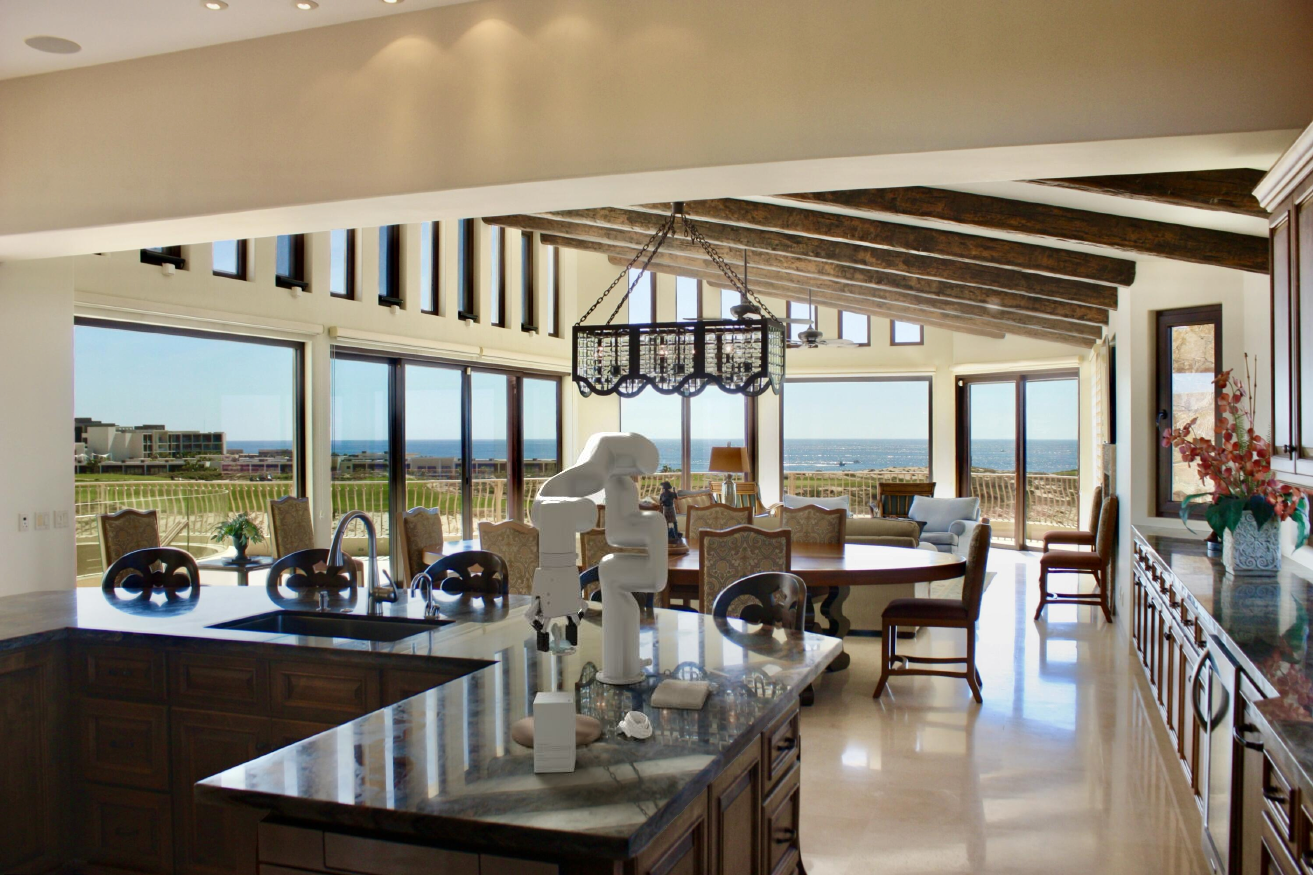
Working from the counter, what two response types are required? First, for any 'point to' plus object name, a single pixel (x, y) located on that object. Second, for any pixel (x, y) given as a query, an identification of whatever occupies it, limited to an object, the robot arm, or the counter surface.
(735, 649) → the counter surface
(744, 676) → the counter surface
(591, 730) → the walnut board
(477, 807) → the counter surface
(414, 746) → the counter surface
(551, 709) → the supplement box
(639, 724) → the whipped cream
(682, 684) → the washcloth
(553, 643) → the pacifier
